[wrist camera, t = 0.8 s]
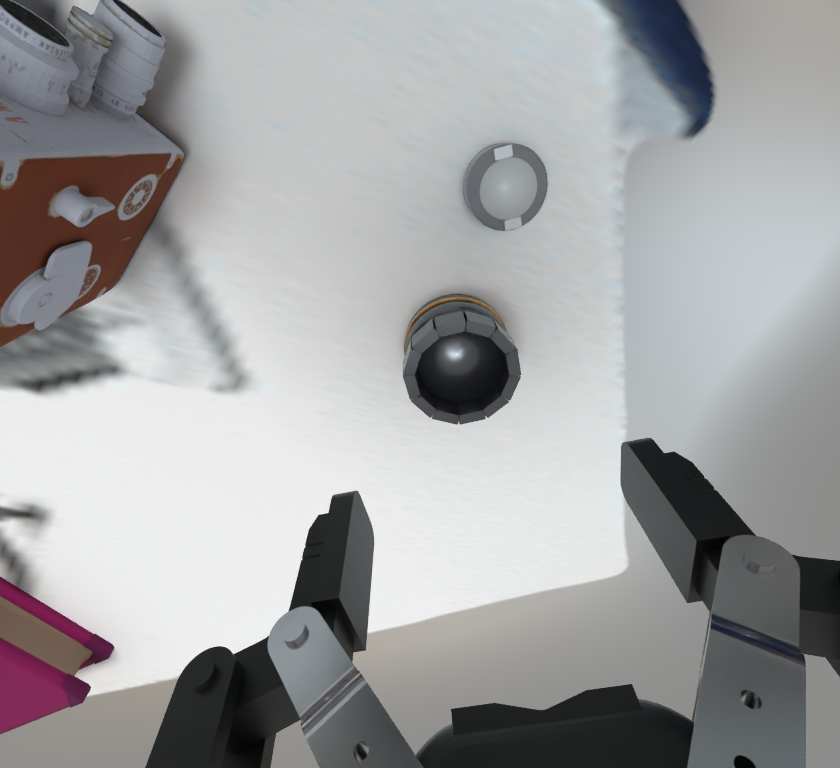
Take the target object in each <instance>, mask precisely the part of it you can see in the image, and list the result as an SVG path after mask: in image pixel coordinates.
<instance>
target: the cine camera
mask: <svg viewBox="0 0 840 768" xmlns="http://www.w3.org/2000/svg"><path fill="white" fill-rule="evenodd" d="M66 26H67V28H68V29H67V31H66V34H65V36H64V35H63V34H62V33H61V32H59V31H58V30H57V29H56V28H54V27H53V26H52V25H51V24H49V23H48V22H47V21H45V20H44V19H42V18H41V17H39V16H38V15H36V14H35V13H33V12H32V11H30V10H29V9H27V8H25V7H24V6H22V5H20V4H18V3H17V2H15V1H13V0H0V347H1V346H3V345H5V344H7V343H9V342H11V341H13V340H15V339H17V338H19V337H21V336H23V335H25V334H27V333H29V332H31V331H33V330H35V329H37V330H39V331H40V330H43V329H45V328H46V327H47V326H49V325H50V324H51V323H52V322H53V321H54V320H56V319H57V318H59V317H61V316H63V315H65V314H67V313H69V312H71V311H73V310H75V309H77V308H79V307H81V306H83V305H85V304H87V303H89V302H91V301H93V300H94V299H96V298H98V297H100V296H101V295H103V294H105V293H106V292H108V291H109V290H111V289H112V288H113V287H114V286H115V284H116V283H117V282H118V280H119V279H120V277H121V276H122V274H123V272H124V270H125V269H126V267H127V265H128V263H129V261H130V259H131V258H132V256H133V254H134V252H135V250H136V248H137V247H138V245H139V243H140V241H141V239H142V237H143V236H144V234H145V232H146V230H147V228H148V226H149V225H150V223H151V221H152V219H153V217H154V215H155V214H156V212H157V210H158V208H159V206H160V205H161V203H162V201H163V199H164V197H165V195H166V194H167V192H168V190H169V188H170V186H171V184H172V183H173V181H174V179H175V177H176V175H177V173H178V172H179V170H180V167H181V165H182V163H183V159H184V153H183V152H182V150H181V149H180V148H179V147H177V146H176V145H175V144H174V143H173V142H171V141H170V140H169V139H168V138H167V137H165V136H164V135H163V134H162V133H160V132H159V131H158V130H157V129H155V128H154V127H153V126H151V125H150V124H149V123H148V122H146V121H145V120H144V119H143V118H141V117H140V116H139V115H138V114H136V111H137V108H138V106H143V105H144V103H145V101H146V97H145V95H146V93H147V91H148V90H151V89H152V87H153V85H154V83H155V81H154V78H155V76H156V74H157V72H158V70H159V67H160V64H159V63H160V61H161V58H162V56H163V54H164V52H165V50H166V49H165V47H164V44H165V42H166V38H165V37H164V36H163V35H162V34H161V33H160V32H159V31H158V30H157V29H156V28H155V27H154V26H153V25H152V24H151V23H149V22H148V21H147V20H146V19H145V18H144V17H142V16H141V15H140V14H139V13H137V12H136V11H135V10H133V9H132V8H131V7H129V6H128V5H127V4H125V3H124V2H122V1H121V0H100V1H99V4H98V6H97V9H96V11H95V14H94V15H90V14H88V13H87V12H85V11H83V10H82V9H80V8H78V7H76V6H73V7H72V9H71V12H70V15H69V18H68V20H67V22H66Z"/></svg>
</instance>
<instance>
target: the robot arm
mask: <svg viewBox="0 0 840 768" xmlns="http://www.w3.org/2000/svg"><path fill="white" fill-rule="evenodd" d="M621 487H622V491H623V494H624V497H625V499H626V501H627V503H628V505H629V506H630V508H631V510H632V511H633V513H634V515H635V516H636V518H637V520H638V521H639V523H640V525H641V526H642V528H643V530H644V531H645V533H646V535H647V536H648V538H649V540H650V541H651V543H652V545H653V546H654V548H655V550H656V551H657V553H658V555H659V557H660V558H661V560H662V561H663V563H664V565H665V567H666V568H667V570H668V572H669V573H670V575H671V577H672V578H673V580H674V582H675V583H676V585H677V587H678V588H679V590H680V592H681V593H682V595H683V596H684V598H685V600H686V602H687V603H690V602H697V601H703V602H704V603H705V605H706V606H707V608H708V610H709V611H710V613H709V618H708V624H707V631H706V636H705V643H704V649H703V654H702V660H701V666H700V672H699V678H698V684H697V689H696V695H695V701H694V706H693V712H692V717H691V720H689V719H688V718H686V717H685V716H683V715H681V714H680V713H678V712H676V711H674V710H672V709H670V708H667V707H665V706H662V705H660V704H657V703H654V702H650V701H647V700H642V699H638V698H637V696H636V693H635V691H634V688H633V686H632V684H629V685H622V686H615V687H607V688H600V689H593V690H586V691H584V692H582V693H580V694H578V695H576V696H574V697H571V698H569V699H567V700H565V701H563V702H561V703H559V704H557V705H555V706H553V707H551V708H549V709H546V710H534V709H528V708H522V707H515V706H510V705H503V704H496V703H492V704H484V705H477V706H470V707H462V708H455V709H451V712H452V724H450V725H448V726H446V727H444V728H443V729H441V730H440V731H439V732H437V733H436V734H435V735H433V736H432V737H431V738H430V739H429V740H428V741H427V742H426V743H425V744H424V745H423V747H422V748H421V749H420V750H419V751H418V753H417V754H416V756H415V754H414V753H413V751H412V750H411V748H410V747H409V745H408V743H407V742H406V741H405V739H404V737H403V736H402V734H401V733H400V731H399V730H398V729H397V727H396V726H395V724H394V722H393V721H392V719H391V718H390V717H389V715H388V713H387V712H386V710H385V709H384V707H383V706H382V704H381V703H380V701H379V700H378V698H377V697H376V695H375V694H374V692H373V691H372V689H371V688H370V686H369V685H368V683H367V682H366V680H365V679H364V678H363V676H362V674H361V673H360V672H359V671H358V670H357V669H356V667H355V666H354V665H353V663H352V660H353V652H358V651H364V650H366V640H367V627H368V615H369V602H370V589H371V577H372V564H373V551H374V534H373V529H372V525H371V522H370V519H369V517H368V514H367V512H366V509H365V507H364V504H363V502H362V499H361V496H360V494H359V492H358V491H352V492H347V493H342V494H336V495H333V496H332V499H331V504H330V509H329V513H327V514H322V515H318V517H317V518H316V520H315V521H314V523H313V524H312V526H311V527H310V529H309V532H308V536H307V540H306V544H305V545H306V548H304V552H303V556H302V558H303V560H302V561H301V564H300V568H299V573H298V577H297V581H296V585H295V589H294V593H293V597H292V601H291V605H290V608H289V611H288V612H287V613H286V614H285V615H283V616H282V617H281V618H280V619H279V620H278V621H277V622H276V624H275V625H274V627H273V629H272V630H271V632H270V635H269V636H268V637H267V638H265V639H263V640H262V641H260V642H258V643H256V644H254V645H252V646H250V647H248V648H246V649H244V650H242V651H240V652H237V653H235V654H233V653H232V652H231V651H230V650H229V649H227V648H225V647H220V646H218V647H213V648H210V649H207V650H205V651H203V652H202V653H200V654H199V655H197V656H196V657H195V658H194V659H193V660H192V661H191V662H190V663H189V664H188V665H187V666H186V667H185V669H184V670H183V672H182V673H181V675H180V677H179V679H178V681H177V683H176V686H175V689H174V692H173V694H172V697H171V700H170V703H169V705H168V708H167V711H166V713H165V716H164V719H163V721H162V724H161V727H160V730H159V732H158V735H157V738H156V740H155V743H154V746H153V749H152V751H151V754H150V757H149V759H148V762H147V765H146V767H145V768H270V766H271V760H272V754H273V748H274V742H275V736H276V733H277V732H279V731H280V730H282V729H284V728H286V727H288V726H290V725H291V724H293V723H295V722H297V721H299V720H301V721H302V723H301V727H302V730H303V733H304V735H305V737H306V740H307V742H308V744H309V746H310V748H311V750H312V752H313V754H314V756H315V759H316V761H317V763H318V765H319V767H320V768H806V663H805V657H804V655H803V654H808V655H814V656H820V657H826V659H827V660H828V661H829V663H830V664H831V666H832V667H833V668H834V670H835V671H836V672H837V674H838V675H839V676H840V561H835V560H826V559H817V558H807V557H800V556H795V555H791V554H790V553H789V552H788V551H787V550H786V549H784V548H783V547H782V546H780V545H779V544H777V543H775V542H773V541H771V540H768V539H766V538H763V537H759V536H756V535H755V534H754V533H753V532H752V531H751V530H750V529H749V527H748V526H747V525H746V524H745V523H744V522H743V520H742V519H741V518H740V517H739V516H738V515H737V514H736V512H735V511H734V510H733V509H732V508H731V507H730V505H729V504H728V503H727V502H726V501H725V500H724V499H723V498H722V496H721V495H720V494H719V493H718V492H717V491H716V490H714V487H713V486H712V485H711V484H710V482H709V481H708V480H707V479H705V478H704V476H703V475H702V473H701V472H700V471H699V470H698V469H697V467H696V466H694V464H693V463H692V462H691V461H689V460H687V459H686V458H684V457H682V456H681V455H679V454H677V453H676V452H670V453H663V451H662V450H661V449H660V448H659V447H658V445H657V444H656V443H655V442H654V440H652V439H651V438H645V439H640V440H634V441H629V442H623V443H622V446H621ZM801 653H803V654H801Z"/></svg>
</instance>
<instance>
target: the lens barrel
mask: <svg viewBox="0 0 840 768" xmlns="http://www.w3.org/2000/svg"><path fill="white" fill-rule="evenodd" d="M404 352H405V359H404V362H403V378H404V381H405V384H406V388H407V391H408V394H409V398H410V400H411V402H413V403H414V404H415V405H416V406H417V407H418V408H419V409H421V410H422V411H423V412H424V413H425V414H426V415H427V416H429V417H431V416H432V419H435V420H440V421H444V422H448V423H453V424H458V421H459V424H465V423H469V422H474V421H479V420H483V419H486V418H485V416H486V417H487V418H489V417H490V416H491V415H492V414H494V413H495V412H496V411H498V410H499V409H500V408H502V407H503V406H504V405H506V404H507V403H508V402H509V401H508V400H511V398H512V395H513V393H514V391H515V389H516V387H517V384H518V382H519V380H520V378H521V377H520V375H521V371H520V364H519V358H518V351H517V349H516V346H515V345H514V343H513V341H512V339H511V337H510V336H509V335H508V334H507V332H506V329H505V326H504V324H503V322H502V321H501V319H500V317H499V316H498V315H497V313H496V312H495V311H494V310H493V309H492V308H491V307H490V306H489V305H488V304H486V303H485V302H483V301H481V300H480V299H478V298H475V297H472V296H468V295H461V294H453V295H446V296H442V297H439V298H436V299H434V300H432V301H430V302H429V303H427V304H426V305H424V306H423V307H422V308H421V309H420V310H419V311H418V312H417V313H416V314H415V315H414V317H413V318H412V320H411V322H410V324H409V326H408V329H407V333H406V336H405V343H404Z"/></svg>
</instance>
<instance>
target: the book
mask: <svg viewBox="0 0 840 768" xmlns="http://www.w3.org/2000/svg"><path fill="white" fill-rule="evenodd" d="M113 649H114V646H113V645H112V644H111V643H109V642H108V641H106V640H104V639H103V638H101V637H99V636H98V635H96V634H93V633H91V632H89V631H88V630H86V629H84V628H83V627H81V626H79V625H78V624H76V623H75V622H73V621H71V620H70V619H68V618H66V617H65V616H63V615H62V614H60V613H58V612H57V611H55V610H53V609H52V608H50V607H49V606H47V605H45V604H44V603H42V602H40V601H39V600H37V599H36V598H34V597H32V596H31V595H29V594H27V593H26V592H24V591H23V590H21V589H19V588H18V587H16V586H14V585H13V584H11V583H10V582H8V581H6V580H5V579H3V578H1V577H0V734H2V733H4V732H7V731H10V730H12V729H15V728H17V727H20V726H22V725H25V724H27V723H29V722H32V721H35V720H37V719H39V718H42V717H45V716H47V715H49V714H52V713H55V712H57V711H60V710H62V709H64V708H67V707H69V706H70V707H73V706H75V705H78V704H81V703H83V701H84V700H85V698H86V696H87V694H88V693H89V691H90V689H91V687H90V685H89V684H87V683H85V682H84V681H82V680H80V679H78V678H76V677H74V675H75V674H76V672H77V671H78V670H79V669H82V668H84V667H86V666H89V665H91V664H93V663H95V664H96V663H99V662H101V661H103V660H106V659H108V658H109V657H110V655H111V653H112V651H113Z"/></svg>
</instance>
